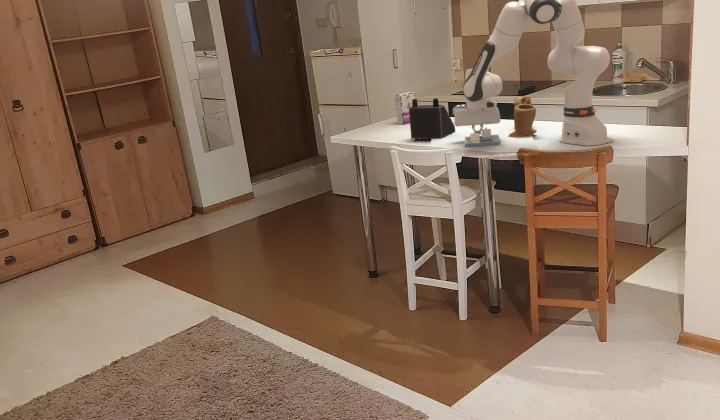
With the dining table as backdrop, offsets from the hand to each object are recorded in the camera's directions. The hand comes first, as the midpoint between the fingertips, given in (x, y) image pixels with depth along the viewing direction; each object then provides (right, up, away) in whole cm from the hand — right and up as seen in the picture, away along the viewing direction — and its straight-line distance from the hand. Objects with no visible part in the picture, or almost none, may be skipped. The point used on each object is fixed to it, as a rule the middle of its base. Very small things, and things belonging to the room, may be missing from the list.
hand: (477, 134), depth 295 cm
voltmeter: (-17, +1, +26) cm, 31 cm away
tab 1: (-2, -5, -7) cm, 9 cm away
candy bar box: (-26, +15, +76) cm, 82 cm away
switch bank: (+1, -5, -3) cm, 6 cm away
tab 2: (+4, -2, 0) cm, 5 cm away
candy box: (+27, +6, +26) cm, 38 cm away
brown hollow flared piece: (+22, -1, +6) cm, 23 cm away
